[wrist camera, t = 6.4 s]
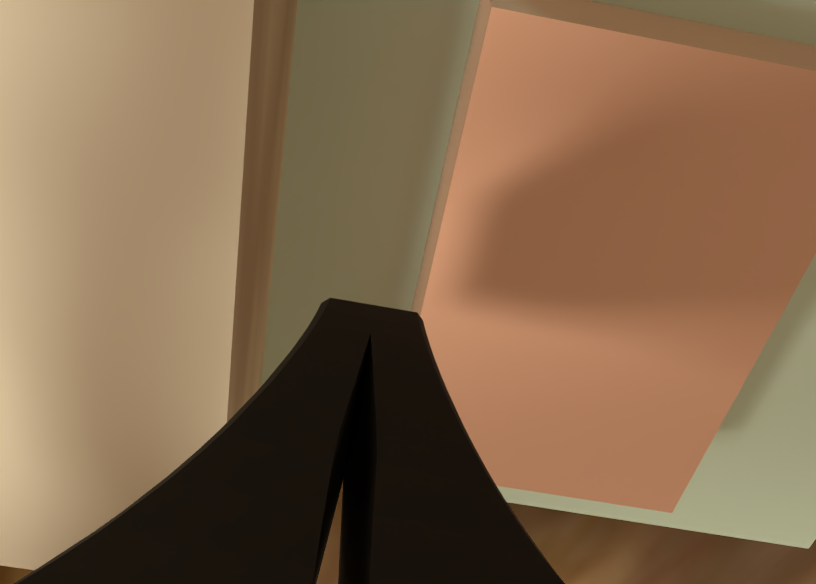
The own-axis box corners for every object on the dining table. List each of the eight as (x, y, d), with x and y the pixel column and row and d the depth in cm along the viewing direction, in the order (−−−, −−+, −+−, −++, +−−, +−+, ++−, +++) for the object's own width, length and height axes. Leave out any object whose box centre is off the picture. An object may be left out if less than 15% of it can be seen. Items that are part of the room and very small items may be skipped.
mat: (257, 451, 18) (253, 462, 18) (324, -245, 11) (321, -247, 10) (802, 535, 19) (808, 548, 19) (1218, -49, 12) (1241, -46, 11)
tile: (671, 512, 15) (649, 444, 17) (906, 89, 11) (842, 51, 12) (385, 468, 15) (390, 402, 17) (491, 6, 10) (484, -21, 12)
